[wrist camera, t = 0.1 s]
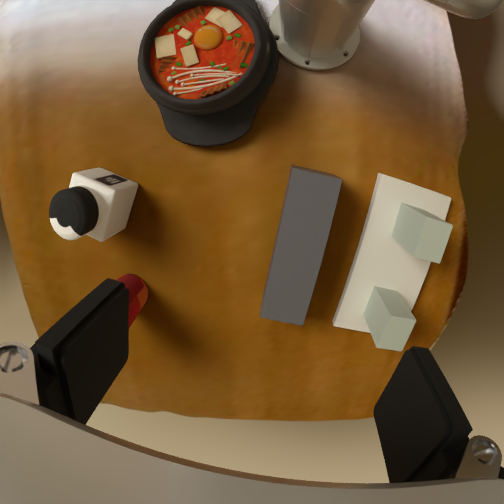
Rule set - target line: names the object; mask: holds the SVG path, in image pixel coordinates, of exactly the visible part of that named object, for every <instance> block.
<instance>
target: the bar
mask: <svg viewBox="0 0 504 504" xmlns="http://www.w3.org/2000/svg"><path fill="white" fill-rule="evenodd" d="M341 183H342V179H341V178H339V177H337V176H336V175H334V174H330V173H326V172H322V171H318V170H313V169H309V168H304V167H300V166H295V165H291V169H290V174H289V179H288V184H287V188H286V193H285V198H284V202H283V207H282V212H281V216H280V221H279V226H278V230H277V235H276V239H275V244H274V248H273V253H272V257H271V262H270V266H269V271H268V275H267V280H266V284H265V289H264V293H263V299H262V305H261V312H260V317H261V318H266V319H271V320H276V321H281V322H287V323H292V324H297V325H302V326H303V324H304V320H305V317H306V314H307V310H308V307H309V304H310V300H311V297H312V294H313V290H314V287H315V283H316V280H317V276H318V273H319V269H320V266H321V262H322V258H323V255H324V251H325V247H326V244H327V240H328V236H329V232H330V228H331V224H332V220H333V216H334V212H335V208H336V204H337V200H338V196H339V192H340V188H341Z"/></svg>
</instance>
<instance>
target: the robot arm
mask: <svg viewBox="0 0 504 504" xmlns="http://www.w3.org/2000/svg"><path fill="white" fill-rule="evenodd" d="M374 1H375V0H279V4H278V5H277V6H276V8H275V9H274V11H273V12H272V14H271V17H270V20H269V28H270V30H271V31H272V33H273V35H274V37H275V39H276V38H278V39H279V40H276V43H277V47H278V53H279V54H280V55H281V56H282V57H284V58H285V59H286V60H287V61H289V62H290V63H292V64H294V65H296V66H299V67H301V68H305V69H309V70H328V69H333V68H336V67H338V66H340V65H342V64H344V63H345V62H347V61H348V60H349V59H350V58H351V57H352V56H353V54H354V53H355V51H356V50H357V47H358V45H359V41H360V29H359V24H360V22H361V21H362V19H363V18H364V16H365V15H366V13H367V12H368V10H369V9H370V7H371V6H372V4H373V3H374ZM424 1H427V2H429V3H431V4H433V5H436V6H438V7H440V8H442V9H445V10H447V11H449V12H452V13H454V14H456V15H459V16H462V17H466V18H473V19H474V18H481V17H484V16H487V15H489V14H491V13H492V12H493V11H494V10H495V9H497V8H498V6H499V5H500V4H501V3H502V1H503V0H424ZM343 54H346V55H347V56H346V57H345V56H344V55H343ZM307 62H308V63H309V65H306V63H307ZM128 332H129V289H128V288H125V284H124V283H123V282H120V281H116V280H113V279H109V278H108V279H106V280H105V281H104V282H102V283H101V284H100V285H99V286H98V287H96V288H95V289H94V290H93V291H92V292H91V293H89V294H88V295H87V296H86V297H85V298H84V299H82V300H81V301H80V302H79V303H78V304H77V305H76V306H74V307H73V308H72V309H71V310H70V311H69V312H68V313H66V314H65V315H64V316H63V317H62V318H61V319H60V320H59V321H57V322H56V323H55V324H54V325H53V326H52V327H51V328H50V329H49V330H48V331H46V332H45V333H44V334H43V335H42V336H41V337H40V338H39V339H38V340H37V341H36V342H35V344H34V345H33V346H32V347H31V348H29V347H27V346H26V345H24V344H22V343H18V342H5V343H2V344H0V504H504V468H503V467H501V460H502V454H501V451H500V449H499V447H498V445H497V444H496V443H495V442H494V441H493V440H491V439H490V438H488V437H485V436H480V435H478V436H474V437H472V438H471V439H470V440H469V438H468V435H469V433H470V432H471V431H472V427H471V425H470V423H469V421H468V419H467V417H466V415H465V413H464V411H463V409H462V408H461V406H460V404H459V402H458V400H457V398H456V397H455V394H454V393H453V391H452V389H451V388H450V385H449V384H448V382H447V380H446V378H445V376H444V375H443V373H442V371H441V370H440V368H439V366H438V364H437V363H436V361H435V359H434V357H433V356H432V354H431V352H430V351H429V349H428V348H422V347H415V346H413V347H411V348H410V349H409V350H406V351H405V353H404V354H403V356H402V358H401V360H400V362H399V364H398V366H397V368H396V370H395V372H394V373H393V375H392V377H391V379H390V381H389V382H388V384H387V386H386V388H385V389H384V391H383V393H382V395H381V396H380V398H379V400H378V401H377V403H376V405H375V407H374V418H375V422H376V426H377V430H378V434H379V438H380V442H381V446H382V451H383V455H384V459H385V463H386V468H387V472H388V477H389V482H390V483H374V484H373V483H371V484H365V483H364V484H362V483H361V484H359V483H331V482H316V481H304V480H294V479H285V478H277V477H270V476H263V475H257V474H251V473H245V472H240V471H234V470H229V469H225V468H220V467H215V466H211V465H206V464H202V463H198V462H194V461H190V460H186V459H183V458H179V457H175V456H172V455H168V454H165V453H161V452H158V451H155V450H152V449H149V448H146V447H143V446H140V445H137V444H134V443H131V442H128V441H126V440H123V439H120V438H118V437H115V436H112V435H109V434H107V433H104V432H102V431H99V430H97V429H94V428H91V427H89V426H87V425H86V423H87V421H88V420H89V418H90V417H91V415H92V413H93V412H94V410H95V409H96V407H97V406H98V404H99V403H100V401H101V400H102V398H103V397H104V395H105V393H106V392H107V390H108V389H109V387H110V386H111V384H112V383H113V381H114V380H115V378H116V377H117V375H118V374H119V372H120V371H121V369H122V368H123V366H124V365H125V363H126V361H127V359H128V353H129V349H128Z"/></svg>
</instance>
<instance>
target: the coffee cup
mask: <svg viewBox="0 0 504 504" xmlns="http://www.w3.org/2000/svg"><path fill="white" fill-rule="evenodd" d="M116 281H120V282H123V283H124V284H125V288H128V289H129V327H130V326H131V324H132V323H133V321H134V320H135V318H136V317H137V315H138V314H139V312H140V311H141V309H142V308H143V306H144V304H145V303H146V301H147V299H148V288H147V285H146V284H145V282H144V281H143V280H142V279H141V278H140V277H138V276H136V275H133V274H126V275H123V276H122V277H120V278H119V279H117V280H116Z"/></svg>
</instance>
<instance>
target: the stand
mask: <svg viewBox="0 0 504 504" xmlns="http://www.w3.org/2000/svg"><path fill="white" fill-rule="evenodd" d="M450 201H451V198H450V197H448V196H445V195H442V194H440V193H437V192H434V191H431V190H429V189H426V188H423V187H420V186H417V185H414V184H411V183H408V182H405V181H402V180H399V179H396V178H393V177H390V176H387V175H384V174H380V173H378V176H377V180H376V184H375V188H374V191H373V195H372V199H371V203H370V206H369V210H368V213H367V217H366V220H365V224H364V227H363V230H362V234H361V237H360V240H359V244H358V247H357V250H356V253H355V257H354V260H353V263H352V266H351V269H350V272H349V275H348V278H347V281H346V284H345V287H344V290H343V293H342V296H341V298H340V301H339V304H338V307H337V310H336V312H335V315H334V318H333V321H332V322H333V326H336V327H341V328H346V329H352V330H357V331H363V332H368V333H371V335H372V338H373V340H374V343H375V345H376V348H383V349H389V350H396V351H402V350H403V348H404V346H405V344H406V342H407V340H408V337H409V335H410V333H411V331H412V329H413V327H414V325H415V323H416V319H415V317H414V316H413V314H412V313H411V311H412V309H413V306H414V304H415V302H416V299H417V297H418V294H419V292H420V289H421V287H422V284H423V282H424V279H425V277H426V274H427V271H428V269H429V266H430V263H431V262H435V263H439V264H440V262H441V259H442V256H443V253H444V251H445V248H446V245H447V242H448V239H449V236H450V233H451V230H452V227H453V225H451V224H450V223H448V222H446V221H445V219H446V215H447V212H448V208H449V205H450Z"/></svg>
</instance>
